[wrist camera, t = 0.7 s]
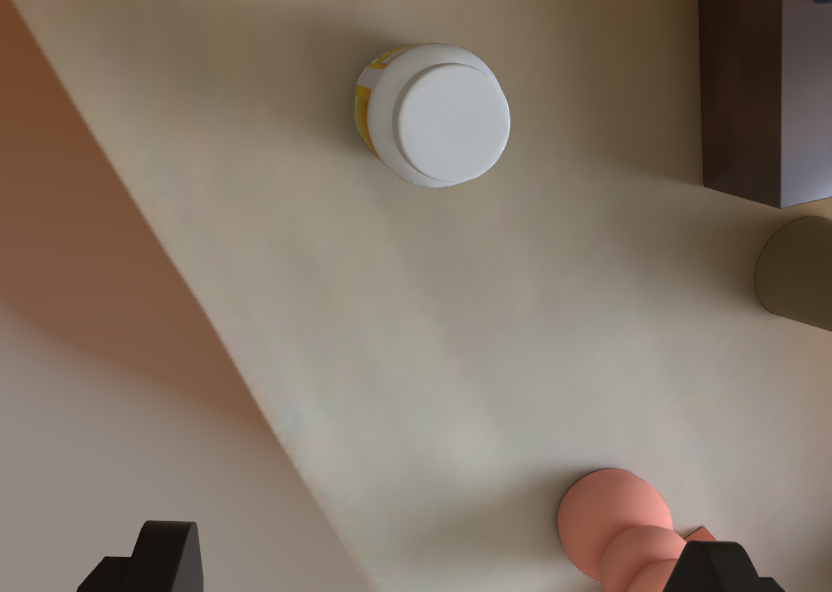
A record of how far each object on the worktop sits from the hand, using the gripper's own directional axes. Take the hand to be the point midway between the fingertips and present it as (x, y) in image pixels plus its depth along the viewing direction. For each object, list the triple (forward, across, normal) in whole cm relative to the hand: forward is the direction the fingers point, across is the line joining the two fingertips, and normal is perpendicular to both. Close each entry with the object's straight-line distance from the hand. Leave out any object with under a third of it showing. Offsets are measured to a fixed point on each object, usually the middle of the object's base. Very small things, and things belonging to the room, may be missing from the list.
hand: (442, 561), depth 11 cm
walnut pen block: (+28, -16, -3) cm, 32 cm away
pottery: (+20, -18, +28) cm, 38 cm away
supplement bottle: (+25, 0, +1) cm, 25 cm away
